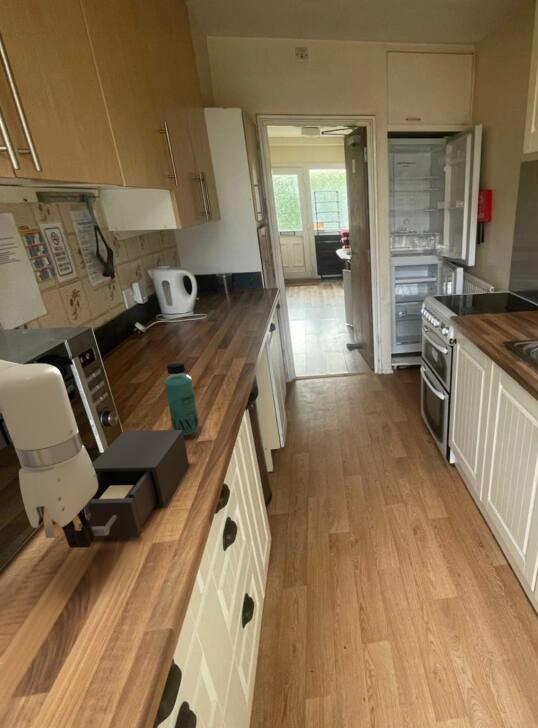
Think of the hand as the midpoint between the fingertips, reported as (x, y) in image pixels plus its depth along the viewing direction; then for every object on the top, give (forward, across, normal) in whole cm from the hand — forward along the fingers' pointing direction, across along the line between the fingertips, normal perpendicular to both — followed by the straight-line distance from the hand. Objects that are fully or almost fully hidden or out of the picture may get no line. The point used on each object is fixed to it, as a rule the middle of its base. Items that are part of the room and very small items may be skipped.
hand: (82, 543), depth 70 cm
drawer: (+4, -10, 0) cm, 11 cm away
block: (+3, -12, 0) cm, 12 cm away
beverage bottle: (+5, -44, 0) cm, 45 cm away
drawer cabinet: (+5, -22, 0) cm, 23 cm away
